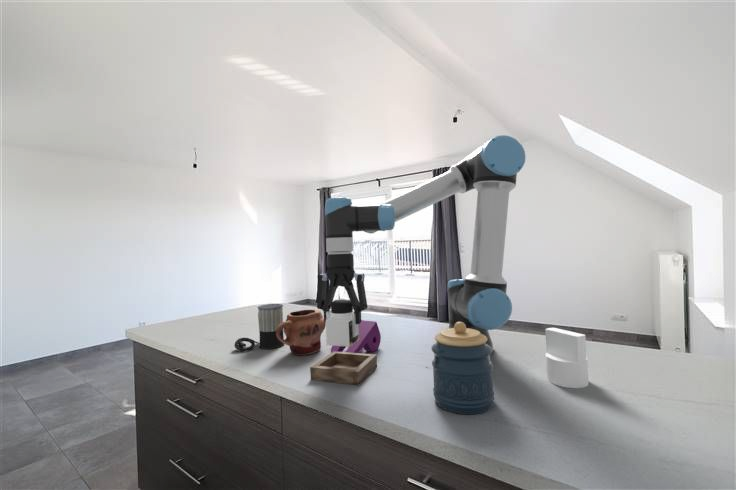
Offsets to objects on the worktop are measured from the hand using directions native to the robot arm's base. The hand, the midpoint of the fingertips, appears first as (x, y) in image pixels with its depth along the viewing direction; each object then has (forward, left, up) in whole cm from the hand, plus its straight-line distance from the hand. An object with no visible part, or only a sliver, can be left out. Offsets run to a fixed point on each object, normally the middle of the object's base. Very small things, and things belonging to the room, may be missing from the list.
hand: (342, 334), depth 96 cm
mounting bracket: (+4, -17, -11) cm, 20 cm away
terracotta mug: (+22, -13, -11) cm, 28 cm away
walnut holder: (0, 0, -11) cm, 11 cm away
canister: (-33, +9, -11) cm, 36 cm away
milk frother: (+41, -15, -11) cm, 45 cm away
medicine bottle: (0, 0, -2) cm, 2 cm away
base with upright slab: (-56, -9, -11) cm, 58 cm away
